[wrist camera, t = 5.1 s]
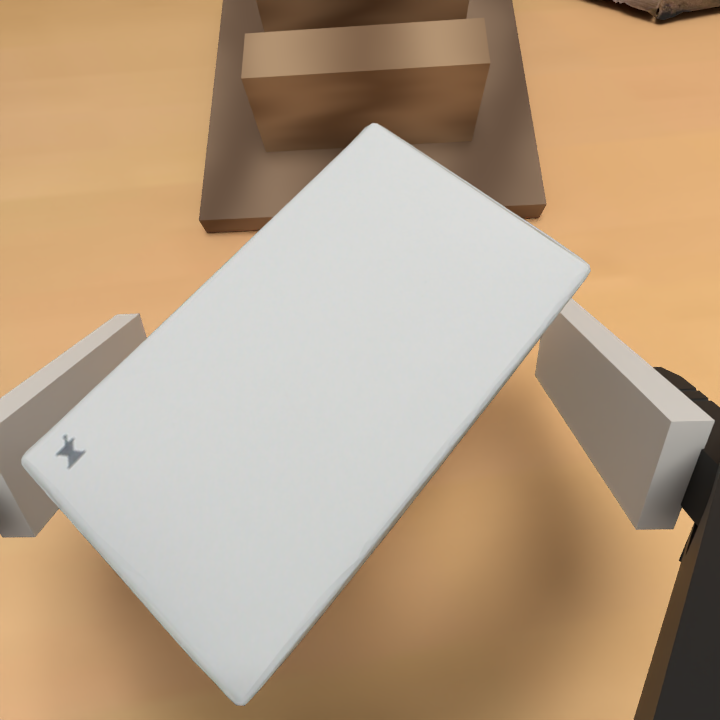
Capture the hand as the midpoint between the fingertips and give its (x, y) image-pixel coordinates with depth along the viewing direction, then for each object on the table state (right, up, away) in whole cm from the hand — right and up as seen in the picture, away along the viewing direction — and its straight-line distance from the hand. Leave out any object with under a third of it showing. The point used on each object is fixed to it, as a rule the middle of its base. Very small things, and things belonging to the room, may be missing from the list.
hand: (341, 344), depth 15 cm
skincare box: (0, -4, +4) cm, 5 cm away
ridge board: (+1, +14, +9) cm, 16 cm away
